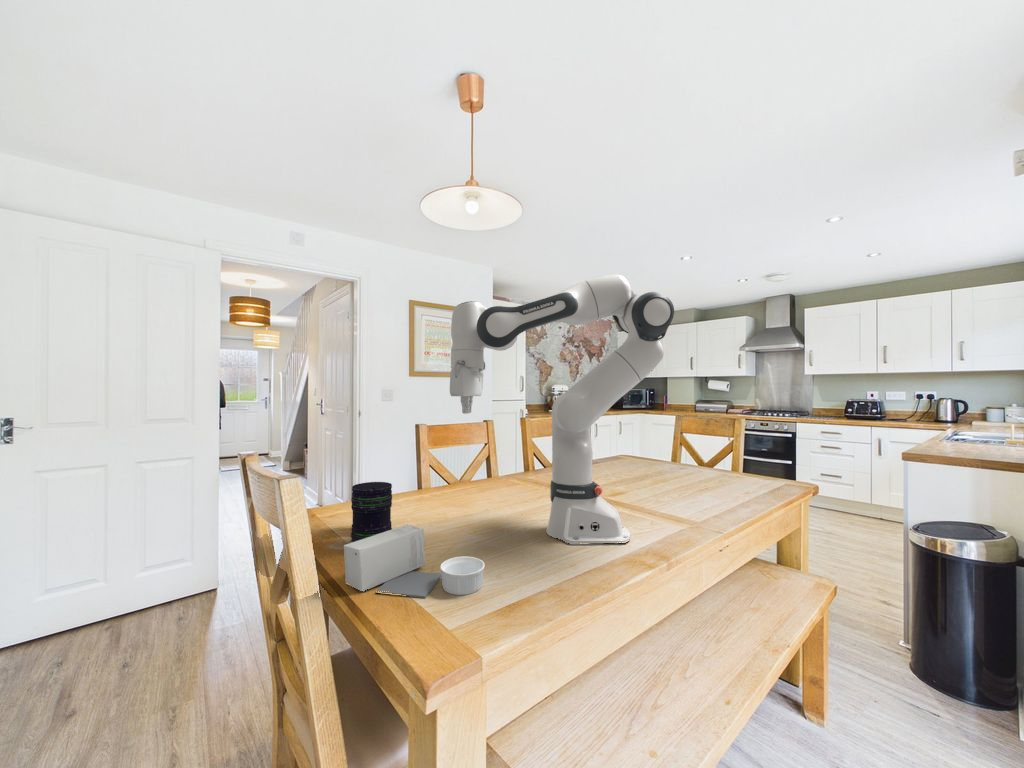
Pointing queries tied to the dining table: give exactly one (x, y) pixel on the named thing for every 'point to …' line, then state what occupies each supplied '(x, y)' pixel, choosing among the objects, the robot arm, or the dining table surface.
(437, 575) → the mat
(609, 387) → the robot arm
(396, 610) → the dining table surface
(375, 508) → the black cylinder
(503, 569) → the dining table surface
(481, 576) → the ramekin
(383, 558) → the skincare box
